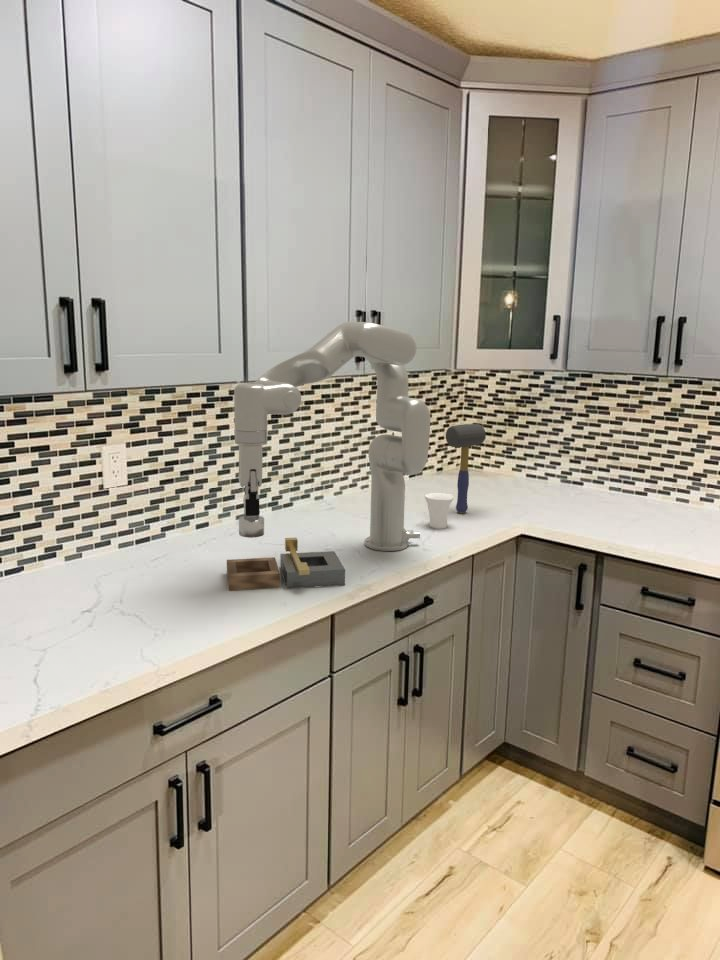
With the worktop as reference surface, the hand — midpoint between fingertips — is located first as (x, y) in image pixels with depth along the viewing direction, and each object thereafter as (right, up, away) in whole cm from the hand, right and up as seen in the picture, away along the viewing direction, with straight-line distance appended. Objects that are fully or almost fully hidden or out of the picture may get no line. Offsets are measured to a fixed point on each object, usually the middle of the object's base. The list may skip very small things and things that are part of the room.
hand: (251, 512), depth 170 cm
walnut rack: (0, -17, +4) cm, 17 cm away
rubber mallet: (+60, -4, +69) cm, 92 cm away
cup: (+50, -7, +53) cm, 74 cm away
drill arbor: (0, -5, +1) cm, 5 cm away
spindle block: (+14, -16, +7) cm, 22 cm away
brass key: (+10, -12, +5) cm, 17 cm away
